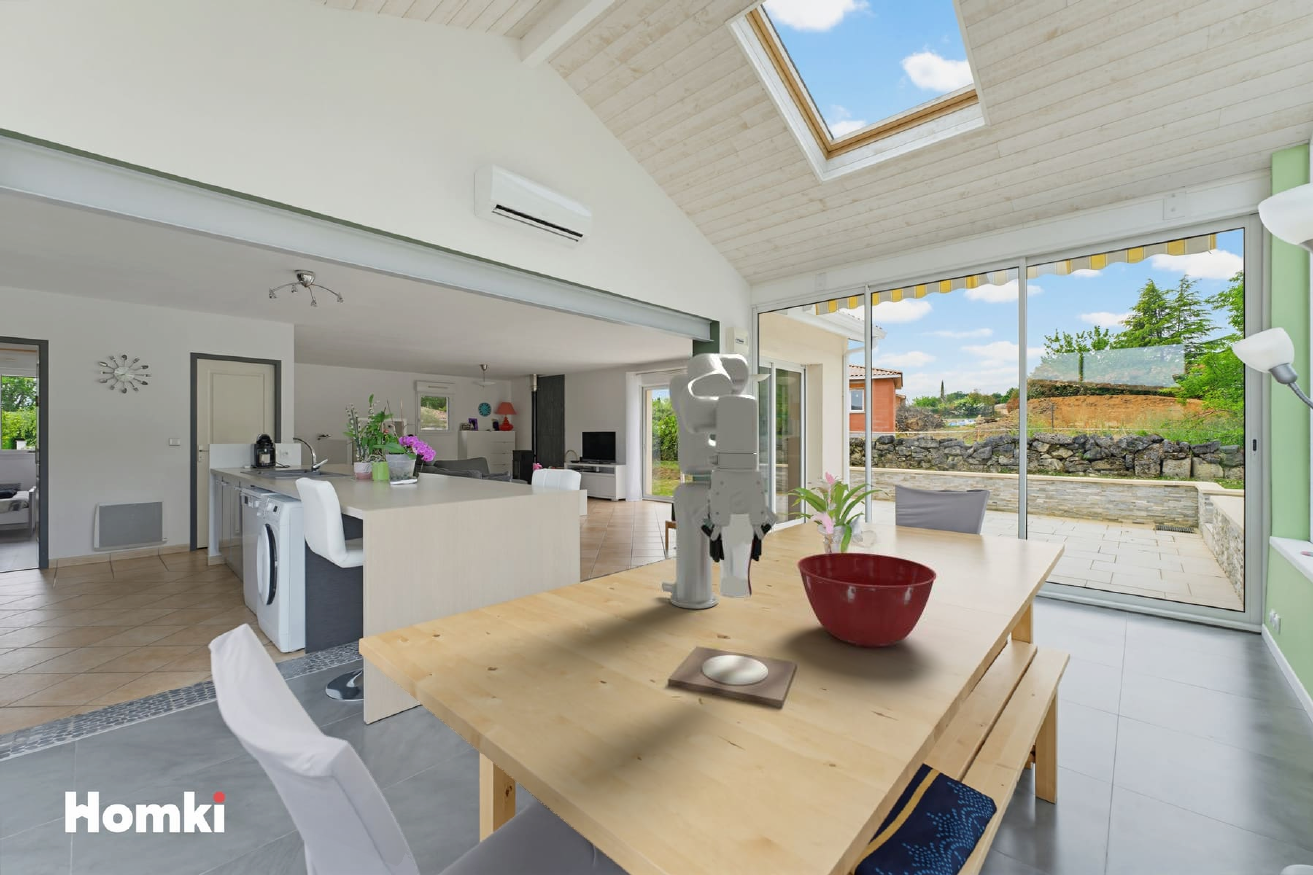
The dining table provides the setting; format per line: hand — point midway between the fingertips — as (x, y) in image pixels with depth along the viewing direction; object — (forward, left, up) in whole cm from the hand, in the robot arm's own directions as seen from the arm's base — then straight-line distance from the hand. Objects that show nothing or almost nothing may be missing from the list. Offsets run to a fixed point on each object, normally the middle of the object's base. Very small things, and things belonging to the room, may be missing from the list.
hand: (735, 559), depth 101 cm
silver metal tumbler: (0, 0, -6) cm, 6 cm away
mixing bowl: (+21, +31, -22) cm, 43 cm away
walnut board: (0, 0, -22) cm, 22 cm away
